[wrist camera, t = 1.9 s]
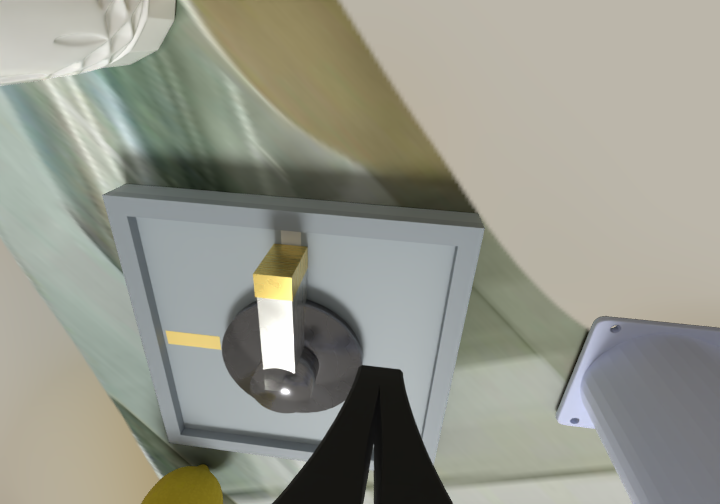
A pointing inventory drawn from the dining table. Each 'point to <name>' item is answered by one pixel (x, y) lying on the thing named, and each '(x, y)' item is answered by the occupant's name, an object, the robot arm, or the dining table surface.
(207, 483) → the lemon
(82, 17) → the white cup
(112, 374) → the dining table surface
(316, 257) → the dial plate
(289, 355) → the dial
